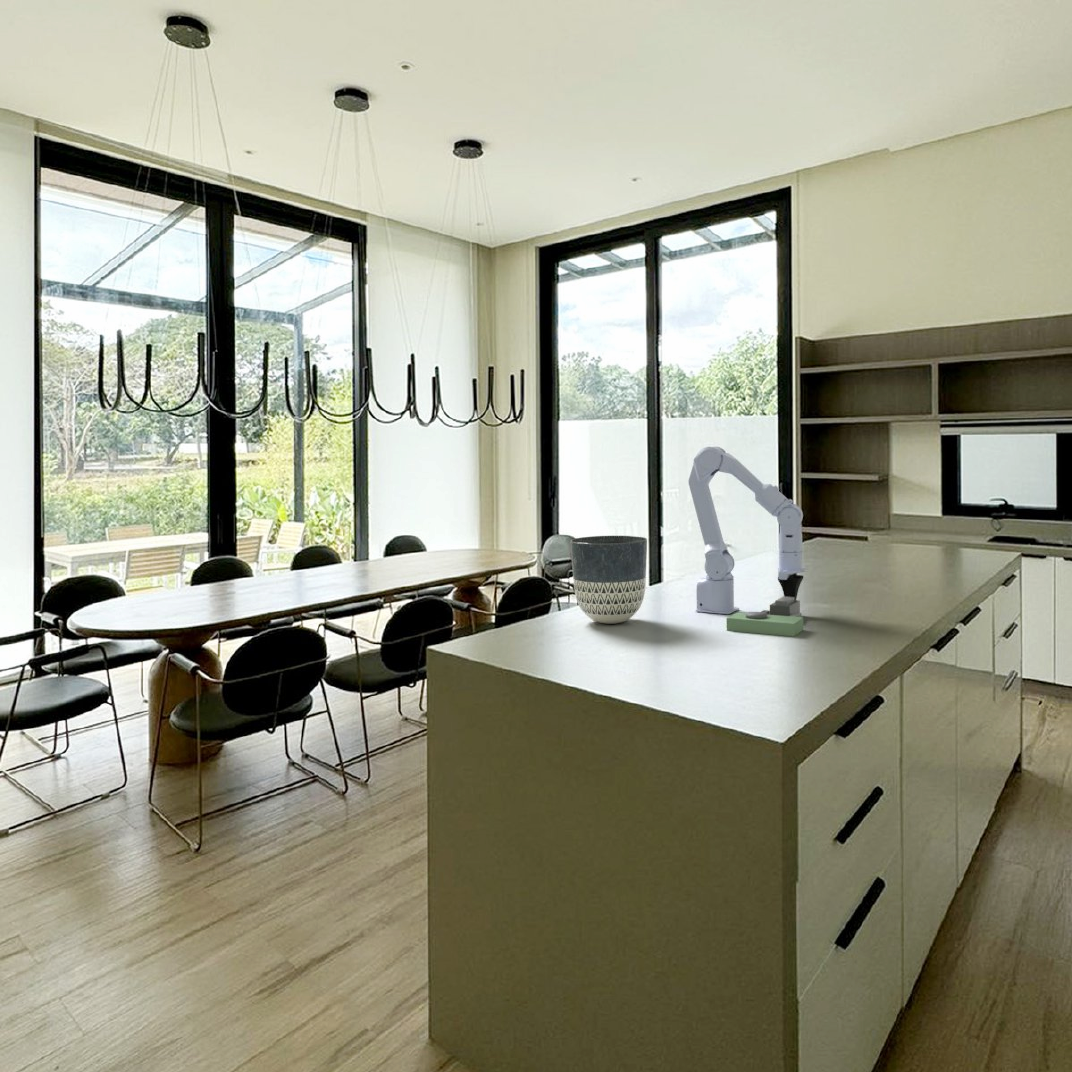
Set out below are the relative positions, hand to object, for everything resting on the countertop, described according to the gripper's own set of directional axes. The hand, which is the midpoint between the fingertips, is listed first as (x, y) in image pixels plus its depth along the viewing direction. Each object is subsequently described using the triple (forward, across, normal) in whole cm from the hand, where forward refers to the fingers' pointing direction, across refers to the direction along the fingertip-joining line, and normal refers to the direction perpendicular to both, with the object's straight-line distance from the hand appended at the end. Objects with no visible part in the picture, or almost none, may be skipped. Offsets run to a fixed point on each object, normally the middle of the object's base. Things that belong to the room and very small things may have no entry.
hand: (790, 603), depth 215 cm
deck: (+3, -16, 0) cm, 16 cm away
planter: (+3, -28, +38) cm, 47 cm away
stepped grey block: (+3, -5, 0) cm, 6 cm away
